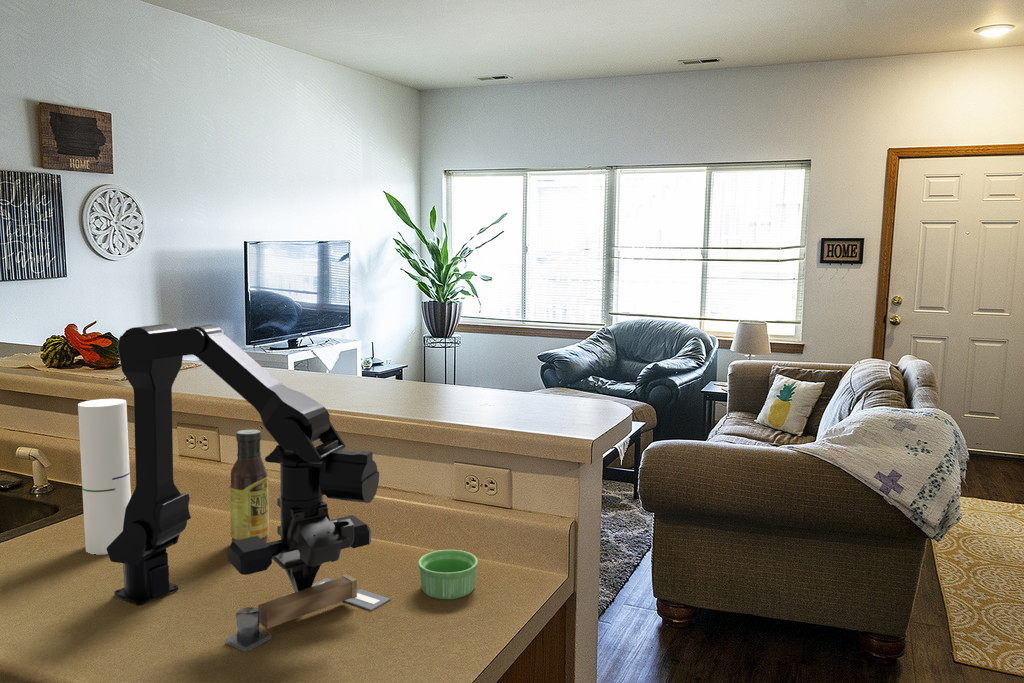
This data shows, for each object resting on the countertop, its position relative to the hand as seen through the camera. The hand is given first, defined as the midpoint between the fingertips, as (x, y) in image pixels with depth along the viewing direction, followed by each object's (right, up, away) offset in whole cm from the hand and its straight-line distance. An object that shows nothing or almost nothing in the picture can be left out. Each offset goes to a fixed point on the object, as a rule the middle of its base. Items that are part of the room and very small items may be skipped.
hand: (302, 600), depth 106 cm
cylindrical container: (-39, +1, +23) cm, 46 cm away
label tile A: (+2, -1, +7) cm, 8 cm away
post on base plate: (-5, -2, -8) cm, 10 cm away
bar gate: (+2, 0, -2) cm, 3 cm away
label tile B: (+8, -1, +4) cm, 9 cm away
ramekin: (+20, -1, +8) cm, 21 cm away
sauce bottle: (-16, +1, +25) cm, 29 cm away
